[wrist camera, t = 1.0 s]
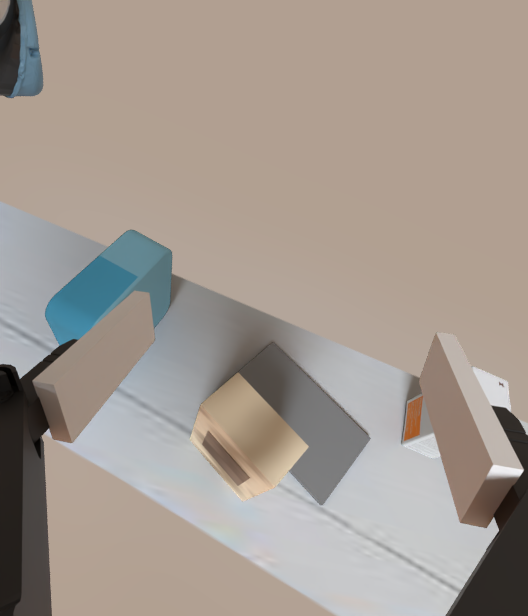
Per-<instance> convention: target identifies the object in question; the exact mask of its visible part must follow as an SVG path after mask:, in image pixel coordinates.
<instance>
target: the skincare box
mask: <svg viewBox="0 0 528 616" xmlns="http://www.w3.org/2000/svg"><path fill="white" fill-rule="evenodd" d="M471 367H472V369H473V371H474V373H475V375H476V377H477V379H478V381H479V383H480V385H481V387H482V389H483V391H484V393H485V395H486V397H487V399H488V401H489V403H490V405H492V406H498V407H505V408H507V409H508V410H509V411H510V412H511V404H510V400H509V387H508V381H506V380H503V379H501V378H499V377H497V376H494V375H492V374H490V373H488V372H486V371H483V370H481V369H479V368H476V367H473V366H471ZM402 445H403V446H405V447H407V448H409V449H411V450H414V451H416V452H418V453H420V454H423V455H425V456H427V457H429V458H431V459H434V458H438V457H441V456H440V452H439V449H438V445H437V442H436V438H435V435H434V431H433V428H432V425H431V421H430V418H429V414H428V411H427V407H426V404H425V401H424V397H423V394H422V393H421V394H419V395H417V396H416V397H414V398H412V399H410V400H408V401H407V405H406V415H405V424H404V431H403V438H402Z"/></svg>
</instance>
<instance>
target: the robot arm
mask: <svg viewBox="0 0 528 616" xmlns="http://www.w3.org/2000/svg"><path fill="white" fill-rule="evenodd" d="M42 88H43V72H42V64H41V58H40V53H39V44H38V35H37V29H36V22H35V17H34V11H33V5H32V0H0V95H3V96H5V97H8V98H14V97H15V96H35V95H38V94H39V93H40V92H41V91H42ZM154 341H155V334H154V326H153V318H152V310H151V301H150V293H148V292H141V291H133V292H132V293H131V294H130V295H129V296H128V297H127V298H126V299H124V300H123V301H122V302H121V303H120V304H119V305H118V306H116V307H115V308H114V309H113V310H112V311H111V312H110V313H109V314H107V315H106V316H105V317H104V318H103V319H102V320H101V321H99V322H98V323H97V324H96V325H95V326H94V327H93V328H92V329H90V330H89V331H88V332H87V333H86V334H85V335H84V336H82V337H81V338H80V339H79V340H77V339H72V340H70V341H68V342H66V343H64V344H62V345H60V346H59V347H58V348H56V349H55V350H54V351H53V352H52V353H51V355H48V356H47V357H46V358H44V359H43V362H42V361H41V362H40V363H39V364H37V365H36V366H35V367H34V368H33V369H31V370H30V371H29V372H28V373H27V374H25V375H24V376H23V377H22V378H21V379H19V376H18V373H17V371H16V368H15V367H13V366H12V365H6V364H1V365H0V616H52V610H51V590H50V568H49V547H48V525H47V504H46V482H45V463H44V442H43V440H42V437H41V436H42V435H43V434H44V433H45V432H46V431H47V429H48V428H49V429H50V432H51V435H52V438H53V439H54V440H59V441H63V442H68V443H73V442H74V441H75V439H76V438H77V437H78V436H79V434H80V433H81V432H82V431H83V429H84V428H85V427H86V426H87V424H88V423H89V422H90V421H91V419H92V418H93V417H94V416H95V414H96V413H97V412H98V411H99V409H100V408H101V407H102V406H103V404H104V403H105V402H106V401H107V399H108V398H109V397H110V396H111V394H112V393H113V392H114V391H115V389H116V388H117V387H118V386H119V384H120V383H121V382H122V381H123V379H124V378H125V377H126V376H127V374H128V373H129V372H130V371H131V370H132V368H133V367H134V366H135V365H136V363H137V362H138V361H139V360H140V358H141V357H142V356H143V355H144V353H145V352H146V351H147V350H148V348H149V347H150V346H151V345H152V343H153V342H154ZM419 383H420V387H421V390H422V394H423V397H424V401H425V404H426V407H427V411H428V414H429V418H430V421H431V425H432V428H433V431H434V435H435V438H436V442H437V445H438V449H439V452H440V456H441V459H442V462H443V466H444V469H445V473H446V476H447V480H448V483H449V486H450V490H451V493H452V497H453V500H454V504H455V507H456V510H457V514H458V517H459V521H460V523H464V524H469V525H474V526H479V527H484V528H487V527H488V525H489V524H490V522H491V520H492V519H493V517H494V518H495V520H496V523H497V526H498V528H499V532H498V533H497V535H496V536H495V538H494V539H493V540H492V542H491V543H490V545H489V546H488V548H487V549H486V552H485V554H484V555H483V557H482V558H481V560H480V562H479V563H478V565H477V566H476V568H475V570H474V571H473V573H472V574H471V576H470V578H469V579H468V581H467V582H466V584H465V585H464V587H463V589H462V590H461V592H460V593H459V595H458V597H457V598H456V600H455V601H454V603H453V605H452V606H451V608H450V609H449V611H448V613H447V614H446V616H528V435H526V432H525V430H524V428H523V427H522V425H521V423H520V421H519V420H518V419H517V418H516V417H515V416H514V415H513V414H512V413H511V412H510V411H509V410H508V409H507V408H505V407H498V406H492V405H490V403H489V401H488V399H487V397H486V395H485V393H484V391H483V389H482V387H481V385H480V383H479V381H478V379H477V377H476V375H475V373H474V371H473V369H472V367H471V365H470V363H469V361H468V360H467V358H466V356H465V354H464V352H463V350H462V348H461V346H460V344H459V342H458V340H457V338H456V336H455V335H454V334H446V333H439V332H436V334H435V336H434V340H433V342H432V345H431V348H430V351H429V354H428V356H427V359H426V362H425V365H424V368H423V371H422V374H421V376H420V379H419Z"/></svg>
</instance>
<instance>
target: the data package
mask: <svg viewBox="0 0 528 616" xmlns="http://www.w3.org/2000/svg"><path fill="white" fill-rule="evenodd" d="M171 272H172V252H171V250H170V249H168V248H166V247H164V246H162V245H160V244H159V243H157V242H155V241H153V240H151V239H149V238H148V237H146V236H144V235H142V234H140V233H139V232H137V231H135V230H128V231H126V232H125V233H124V234H123V235H121V236H120V237H119V238H118V239H117V240H116V241H115V242H114V243H113V244H111V245H110V246H109V247H108V248H107V249H106V250H105V251H104V252H102V253H101V254H100V255H99V256H98V257H97V258H96V259H95V260H94V261H92V262H91V263H90V264H89V265H88V266H87V267H86V268H85V269H83V270H82V271H81V272H80V273H79V274H78V275H77V276H76V277H75V278H73V279H72V280H71V281H70V282H69V283H68V284H67V285H66V286H64V287H63V288H62V289H61V290H60V291H59V292H58V293H57V294H56V295H54V297H53V298H52V299H51V300H50V302H49V303H48V305H47V308H46V311H45V317H46V320H47V322H48V324H49V326H50V327H51V329H52V331H53V333H54V335H55V337H56V339H57V341H58V343H59V345H62V344H64V343H66V342H68V341H70V340H72V339H77V340H79V339H80V338H81V337H82V336H84V335H85V334H86V333H87V332H88V331H89V330H90V329H92V328H93V327H94V326H95V325H96V324H97V323H98V322H99V321H101V320H102V319H103V318H104V317H105V316H106V315H107V314H109V313H110V312H111V311H112V310H113V309H114V308H115V307H116V306H118V305H119V304H120V303H121V302H122V301H123V300H124V299H126V298H127V297H128V296H129V295H130V294H131V293H132V292H133V291H141V292H148V293H150V301H151V310H152V318H153V326H154V328H155V326H156V325H157V324H158V323H159V321H160V320H161V319H162V318H163V317H164V315H165V314H166V312H167V310H168V308H169V305H170V294H171Z"/></svg>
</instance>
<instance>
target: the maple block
mask: <svg viewBox="0 0 528 616" xmlns="http://www.w3.org/2000/svg"><path fill="white" fill-rule="evenodd" d="M190 441H191V442H192V443H193V444H194V446H195V447H196V448H197V449H198V450H199V451H200V453H201V454H202V455H203V456H204V457H205V458H206V460H207V461H208V462H209V463H210V464H211V465H212V467H213V468H214V469H215V470H216V471H217V472H218V474H219V475H220V476H221V477H222V478H223V479H224V481H225V482H226V483H227V484H228V485H229V486H230V488H231V489H232V490H233V491H234V492H235V493H236V495H237V496H238V497H239V498H240V499H241V500H242V502H243V501H245V500H248V499H250V498H252V497H255V496H257V495H259V494H261V493H264V492H266V491H268V490H270V489H273V488H275V487H276V486H277V485H278V483H279V482H280V481H281V480H282V479H283V477H284V476H285V475H286V474H287V473H288V471H289V470H290V469H291V468H292V467H293V465H294V464H295V463H296V462H297V461H298V459H299V458H300V457H301V456H302V455H303V453H304V452H305V451H306V450H307V449H308V447H309V446H308V445H307V444H306V443H305V442H304V441H303V440H302V439H301V438H300V437H299V436H298V435H297V433H296V432H295V431H294V430H293V429H292V428H291V427H290V426H289V425H288V424H287V423H286V422H285V421H284V420H283V419H282V418H281V417H280V416H279V415H278V414H277V412H276V411H275V410H274V409H273V408H272V407H271V406H270V405H269V404H268V403H267V402H266V401H265V400H264V399H263V398H262V397H261V396H260V395H259V394H258V393H257V391H256V390H255V389H254V388H253V387H252V386H251V385H250V384H249V383H248V382H247V381H246V380H245V379H244V378H243V377H242V376H241V375H240V374H239V373H236V374H235V375H234V376H233V377H232V378H231V379H230V380H228V381H227V382H226V383H225V384H224V385H223V386H221V387H220V388H219V389H218V390H217V391H216V392H214V393H213V394H212V395H211V396H210V397H209V398H207V399H206V400H205V401H204V402H203V403H202V404H201V405H200V408H199V411H198V415H197V418H196V421H195V424H194V427H193V431H192V434H191V437H190Z"/></svg>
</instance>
